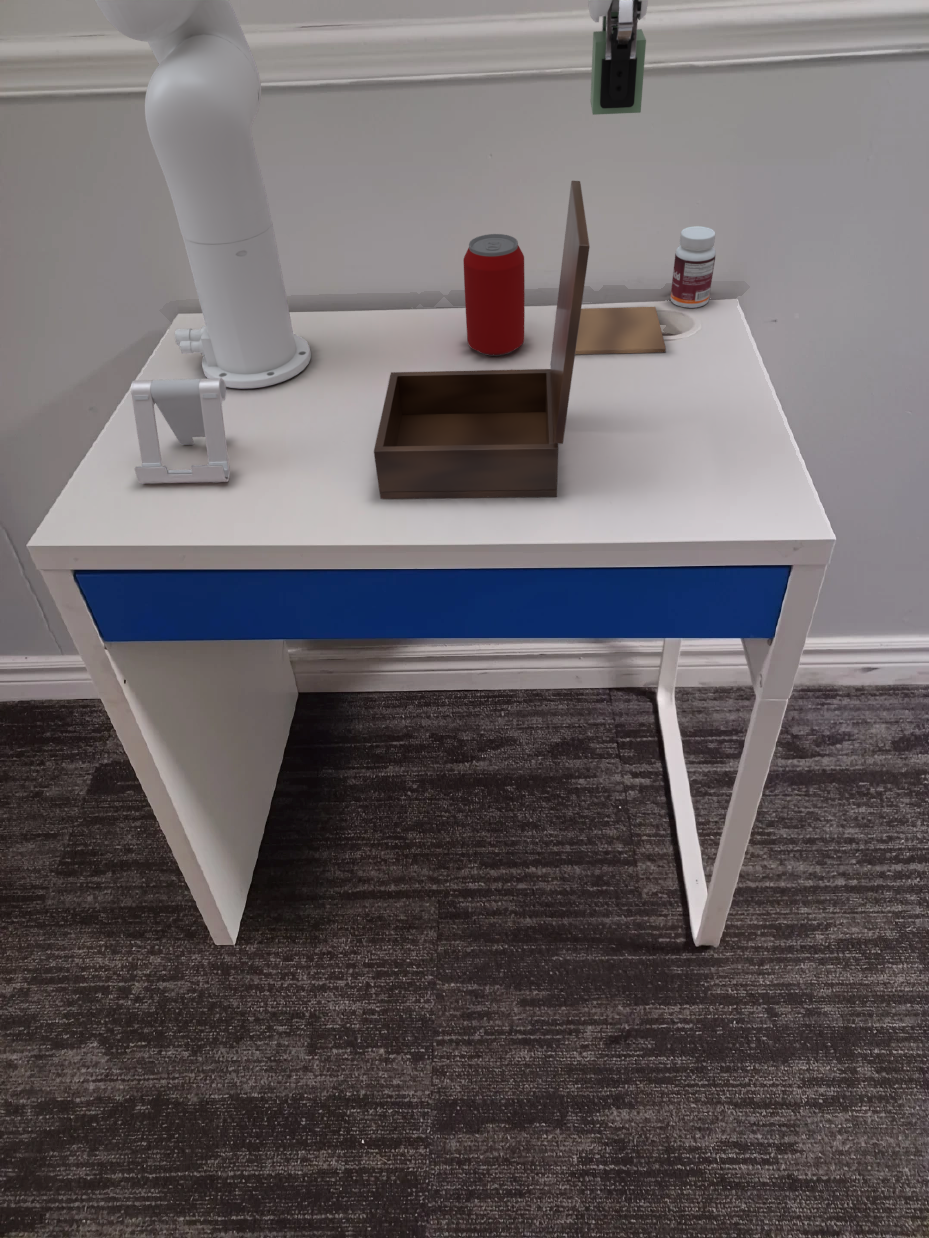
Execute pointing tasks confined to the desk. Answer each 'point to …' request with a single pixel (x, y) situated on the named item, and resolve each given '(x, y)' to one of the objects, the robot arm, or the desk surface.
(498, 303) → the beverage can
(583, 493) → the desk surface
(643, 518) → the desk surface
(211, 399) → the tablet stand
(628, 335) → the coaster
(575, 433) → the desk surface
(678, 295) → the pill bottle
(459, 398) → the chest
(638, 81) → the green block
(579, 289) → the lid
